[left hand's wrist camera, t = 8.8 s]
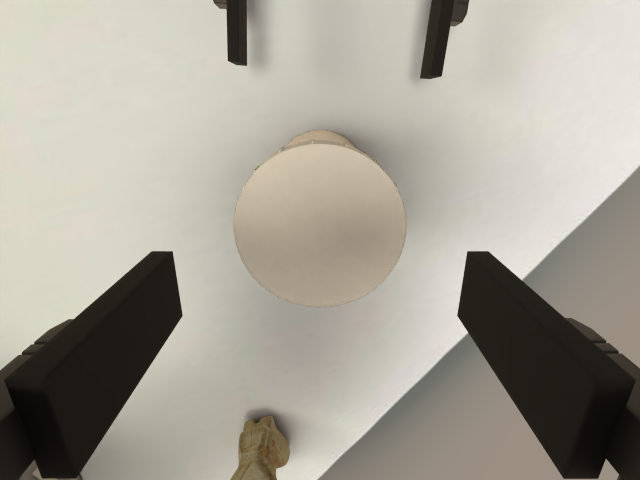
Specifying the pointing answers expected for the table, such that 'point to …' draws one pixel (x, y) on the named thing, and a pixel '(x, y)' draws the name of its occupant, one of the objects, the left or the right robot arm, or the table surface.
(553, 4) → the table surface
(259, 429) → the sculpture
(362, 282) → the lid
